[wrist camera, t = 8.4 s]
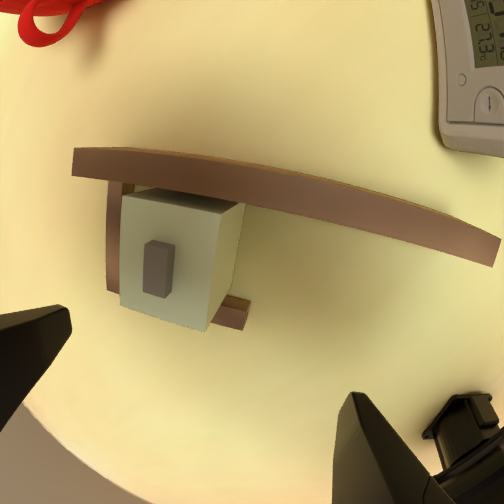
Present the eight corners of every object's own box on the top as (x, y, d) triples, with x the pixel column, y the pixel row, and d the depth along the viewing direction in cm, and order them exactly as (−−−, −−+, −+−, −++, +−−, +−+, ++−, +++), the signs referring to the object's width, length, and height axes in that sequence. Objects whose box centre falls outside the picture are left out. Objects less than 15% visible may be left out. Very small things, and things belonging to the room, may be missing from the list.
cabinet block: (231, 285, 20) (199, 341, 13) (164, 268, 20) (112, 311, 14) (246, 197, 18) (215, 218, 11) (173, 184, 18) (112, 197, 12)
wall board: (400, 348, 19) (422, 403, 13) (117, 282, 21) (70, 317, 15) (450, 215, 15) (501, 239, 10) (124, 147, 18) (65, 147, 12)
